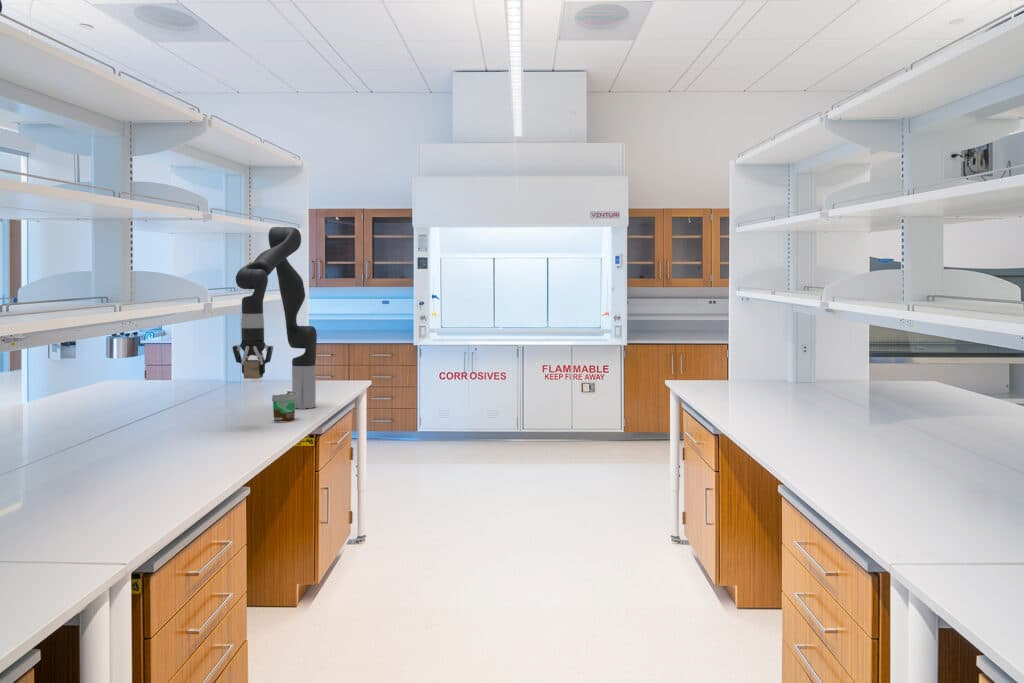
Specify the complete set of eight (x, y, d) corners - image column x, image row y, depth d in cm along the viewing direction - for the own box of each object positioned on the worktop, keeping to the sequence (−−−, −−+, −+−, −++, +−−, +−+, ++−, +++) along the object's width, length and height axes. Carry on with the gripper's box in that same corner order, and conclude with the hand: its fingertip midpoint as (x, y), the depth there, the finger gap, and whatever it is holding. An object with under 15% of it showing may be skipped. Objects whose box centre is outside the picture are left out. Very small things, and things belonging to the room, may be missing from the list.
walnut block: (248, 376, 278) (248, 359, 277) (262, 376, 278) (262, 360, 277) (243, 378, 273) (243, 361, 272) (258, 378, 273) (258, 361, 272)
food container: (287, 423, 284) (287, 395, 283) (272, 422, 285) (271, 395, 284) (303, 417, 296) (303, 391, 295) (288, 417, 297) (288, 390, 297)
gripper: (276, 326, 278) (277, 374, 279) (235, 325, 278) (236, 373, 279) (270, 327, 270) (270, 376, 272) (228, 327, 270) (229, 376, 272)
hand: (253, 374), depth 275 cm, fingers closed on walnut block, 5 cm apart
